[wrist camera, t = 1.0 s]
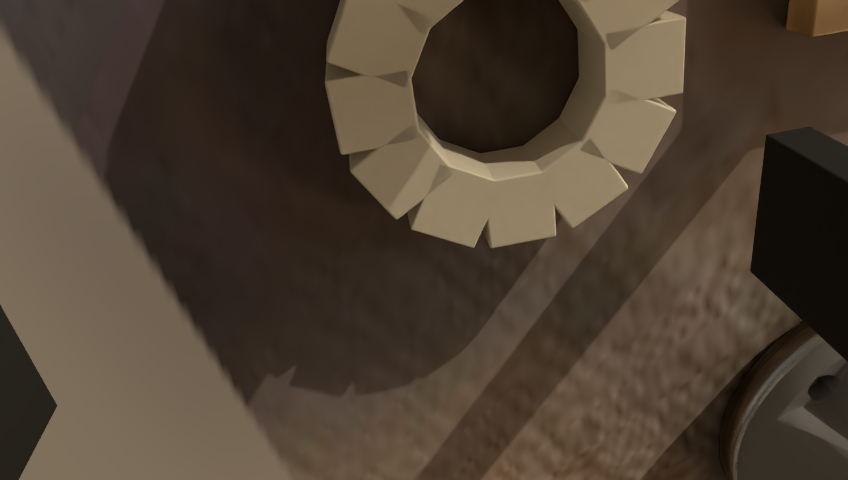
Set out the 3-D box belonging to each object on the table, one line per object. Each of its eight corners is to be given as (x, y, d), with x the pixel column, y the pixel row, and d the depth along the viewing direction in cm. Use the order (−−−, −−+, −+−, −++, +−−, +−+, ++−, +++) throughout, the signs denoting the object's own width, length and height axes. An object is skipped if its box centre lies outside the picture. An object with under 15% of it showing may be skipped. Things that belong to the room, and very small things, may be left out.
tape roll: (647, 185, 26) (678, 214, 23) (364, 238, 25) (366, 272, 23) (654, -145, 20) (694, -149, 18) (293, -84, 20) (288, -80, 18)
